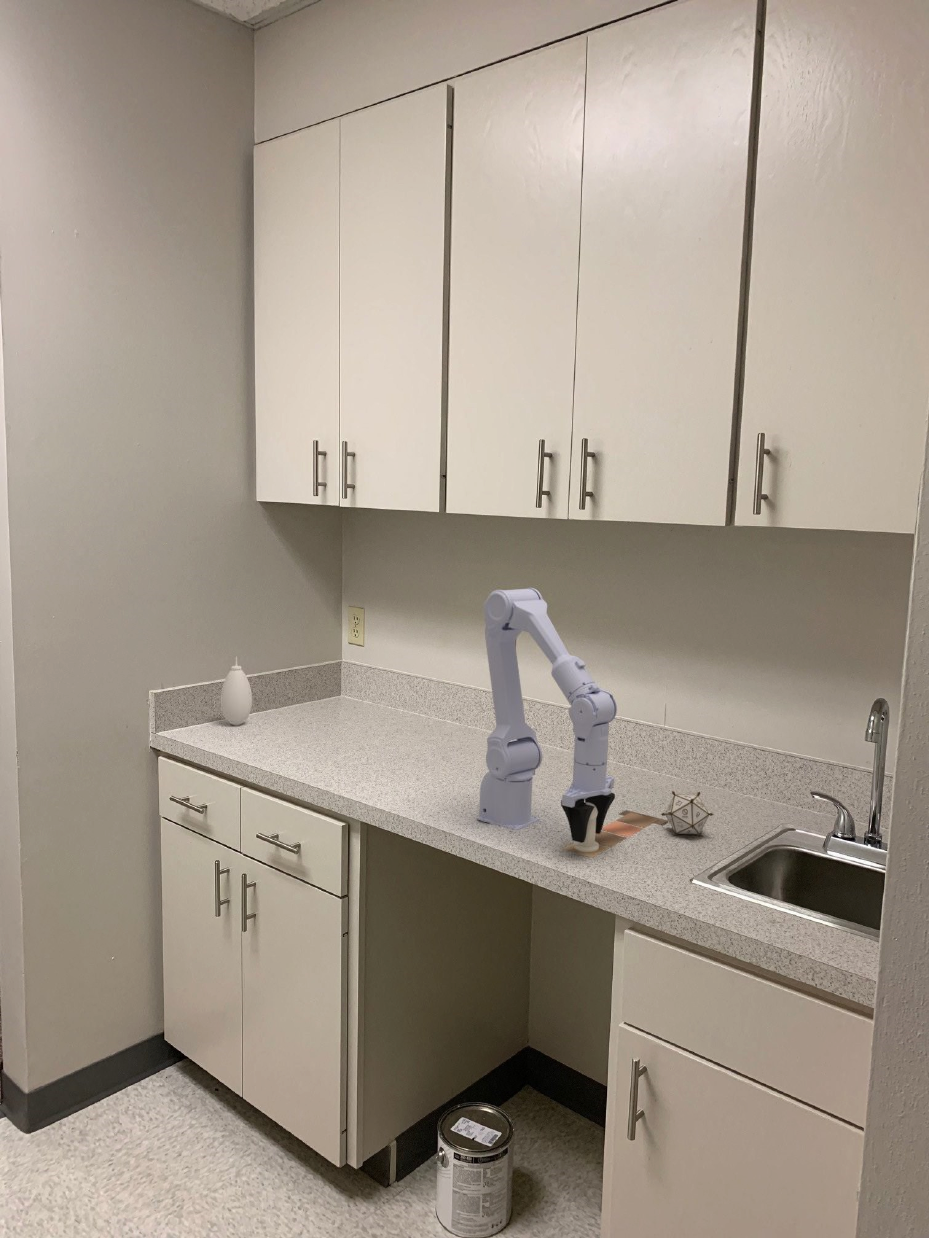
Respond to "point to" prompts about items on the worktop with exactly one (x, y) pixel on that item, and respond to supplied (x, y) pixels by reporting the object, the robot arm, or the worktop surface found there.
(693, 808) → the game die
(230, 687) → the air blower bulb
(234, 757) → the worktop surface
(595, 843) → the pawn
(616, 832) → the board
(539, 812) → the worktop surface
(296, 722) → the worktop surface
